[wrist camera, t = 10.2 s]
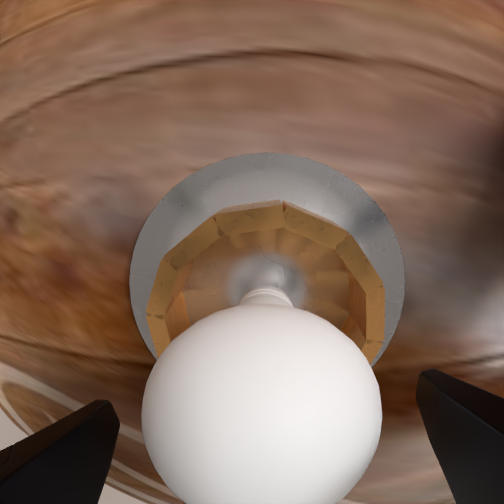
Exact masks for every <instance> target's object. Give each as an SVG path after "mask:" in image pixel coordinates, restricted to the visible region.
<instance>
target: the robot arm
mask: <svg viewBox="0 0 504 504" xmlns="http://www.w3.org/2000/svg"><path fill="white" fill-rule="evenodd" d="M416 401H417V404H418V407H419V410H420V413H421V416H422V419H423V422H424V425H425V428H426V431H427V434H428V437H429V440H430V443H431V445H432V448H433V450H434V452H435V455H436V457H437V459H438V461H439V463H440V466H441V468H442V470H443V473H444V475H445V477H446V480H447V482H448V484H449V487H450V489H451V492H452V494H453V497H454V499H455V501H456V504H504V398H502V397H500V396H497V395H495V394H493V393H490V392H488V391H485V390H483V389H481V388H478V387H476V386H474V385H471V384H469V383H466V382H464V381H462V380H459V379H457V378H455V377H452V376H450V375H448V374H446V373H443V372H441V371H439V370H436V369H434V368H432V369H428V370H424V371H422V372H420V374H419V378H418V384H417V391H416ZM119 428H120V422H119V419H118V417H117V415H116V412H115V410H114V408H113V406H112V404H111V403H110V402H109V401H108V400H100V399H98V400H95V401H93V402H91V403H90V404H88V405H86V406H84V407H83V408H81V409H79V410H77V411H75V412H74V413H72V414H70V415H68V416H66V417H64V418H63V419H61V420H59V421H57V422H55V423H53V424H51V425H50V426H48V427H46V428H44V429H42V430H40V431H38V432H36V433H34V434H33V435H31V436H29V437H27V438H25V439H23V440H21V441H19V442H17V443H15V444H14V445H11V446H9V447H7V448H5V449H3V450H1V451H0V504H98V500H99V498H100V495H101V492H102V489H103V486H104V483H105V480H106V477H107V474H108V472H109V468H110V465H111V461H112V457H113V453H114V449H115V444H116V440H117V436H118V432H119Z"/></svg>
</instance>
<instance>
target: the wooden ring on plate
mask: <svg viewBox="0 0 504 504" xmlns="http://www.w3.org/2000/svg"><path fill="white" fill-rule="evenodd" d="M129 285H130V298H131V304H132V309H133V314H134V317H135V320H136V323H137V326H138V329H139V331H140V334H141V336H142V337H143V339H144V341H145V343H146V345H147V347H148V348H149V350H150V351H151V353H152V354H153V356H154V357H155V359H156V360H158V358H159V357H160V355H161V354H162V352H163V351H164V350H165V349H166V348H167V346H168V345H169V344H170V343H171V342H172V340H173V339H175V338H176V337H177V336H179V335H180V334H181V333H183V332H184V331H185V330H187V329H188V328H189V327H191V326H192V325H193V324H195V323H196V322H197V321H199V320H200V319H203V318H205V317H207V316H209V315H211V314H213V313H215V312H217V311H220V310H224V309H228V308H232V307H236V306H238V304H239V302H240V300H241V298H242V297H243V296H244V294H245V293H246V292H248V291H249V290H251V289H253V288H255V287H258V286H265V285H266V286H273V287H276V288H278V289H280V290H282V291H283V292H284V293H286V295H287V296H288V297H289V299H290V301H291V303H292V305H293V307H294V308H297V309H301V310H304V311H308V312H310V313H312V314H314V315H317V316H319V317H321V318H323V319H325V320H327V321H328V322H330V323H331V324H332V325H333V326H335V327H336V328H337V329H339V330H340V331H341V332H342V333H344V334H345V335H346V336H347V337H348V338H350V339H351V340H352V341H353V342H354V343H355V344H356V345H357V347H358V348H359V349H360V351H361V352H362V353H363V354H364V356H365V357H366V359H367V361H368V363H369V365H370V367H371V368H372V366H373V365H374V364H375V363H376V362H377V361H378V359H379V358H380V357H381V355H382V354H383V352H384V351H385V349H386V348H387V346H388V344H389V342H390V340H391V338H392V337H393V335H394V333H395V330H396V327H397V325H398V322H399V319H400V316H401V311H402V307H403V302H404V292H405V273H404V263H403V259H402V254H401V249H400V246H399V243H398V241H397V238H396V235H395V233H394V230H393V229H392V227H391V225H390V223H389V221H388V219H387V218H386V216H385V214H384V213H383V212H382V210H381V209H380V208H379V206H378V205H377V204H376V202H375V201H374V200H373V199H372V198H371V197H370V196H369V195H368V194H367V193H366V192H365V191H364V190H363V189H362V188H361V187H360V186H359V185H357V184H356V183H355V182H353V181H352V180H351V179H349V178H348V177H347V176H345V175H344V174H342V173H340V172H338V171H336V170H334V169H333V168H331V167H329V166H327V165H324V164H322V163H319V162H316V161H313V160H311V159H308V158H303V157H299V156H294V155H289V154H278V153H257V154H245V155H241V156H236V157H232V158H228V159H224V160H221V161H219V162H216V163H213V164H211V165H208V166H206V167H204V168H202V169H200V170H199V171H197V172H195V173H193V174H191V175H190V176H188V177H187V178H185V179H184V180H183V181H181V182H180V183H179V184H178V185H176V186H175V187H174V188H173V189H172V190H171V191H170V192H169V193H168V194H167V195H166V196H165V197H164V198H163V199H162V200H161V201H160V202H159V203H158V204H157V206H156V207H155V209H154V210H153V211H152V213H151V214H150V215H149V217H148V219H147V221H146V222H145V224H144V226H143V228H142V230H141V232H140V234H139V237H138V240H137V242H136V245H135V248H134V252H133V257H132V262H131V267H130V282H129Z"/></svg>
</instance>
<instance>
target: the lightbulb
mask: <svg viewBox="0 0 504 504" xmlns="http://www.w3.org/2000/svg"><path fill="white" fill-rule="evenodd" d="M141 419H142V432H143V438H144V443H145V446H146V449H147V451H148V454H149V456H150V459H151V461H152V463H153V465H154V467H155V469H156V471H157V472H158V474H159V475H160V477H161V478H162V479H163V481H164V482H165V484H166V485H167V486H168V487H169V488H170V490H171V491H172V492H173V493H174V494H175V495H176V496H177V497H179V498H180V499H181V500H182V501H184V502H185V503H186V504H336V503H337V502H339V501H340V500H341V499H343V498H344V497H345V496H346V495H347V494H348V493H349V492H350V491H351V489H352V488H353V487H354V486H355V485H356V484H357V482H358V481H359V480H360V479H361V477H362V476H363V475H364V473H365V471H366V469H367V468H368V466H369V464H370V462H371V460H372V458H373V456H374V454H375V451H376V449H377V447H378V442H379V437H380V432H381V424H382V408H381V399H380V392H379V385H378V383H377V380H376V378H375V376H374V373H373V371H372V369H371V367H370V365H369V363H368V361H367V359H366V357H365V356H364V354H363V353H362V352H361V351H360V349H359V348H358V347H357V345H356V344H355V343H354V342H353V341H352V340H351V339H350V338H348V337H347V336H346V335H345V334H344V333H342V332H341V331H340V330H339V329H337V328H336V327H335V326H333V325H332V324H331V323H330V322H328V321H327V320H325V319H323V318H321V317H319V316H317V315H314V314H312V313H310V312H308V311H304V310H301V309H297V308H294V307H293V305H292V303H291V301H290V299H289V297H288V296H287V295H286V293H284V292H283V291H282V290H280V289H278V288H276V287H273V286H266V285H265V286H258V287H255V288H253V289H251V290H249V291H248V292H246V293H245V294H244V296H243V297H242V298H241V300H240V302H239V304H238V306H236V307H232V308H228V309H224V310H220V311H217V312H215V313H213V314H211V315H209V316H207V317H205V318H203V319H200V320H199V321H197V322H196V323H195V324H193V325H192V326H191V327H189V328H188V329H187V330H185V331H184V332H183V333H181V334H180V335H179V336H177V337H176V338H175V339H173V340H172V342H171V343H170V344H169V345H168V346H167V348H166V349H165V350H164V351H163V352H162V354H161V355H160V357H159V358H158V360H157V362H156V363H155V365H154V367H153V369H152V371H151V373H150V376H149V378H148V380H147V382H146V387H145V392H144V396H143V403H142V411H141Z"/></svg>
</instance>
